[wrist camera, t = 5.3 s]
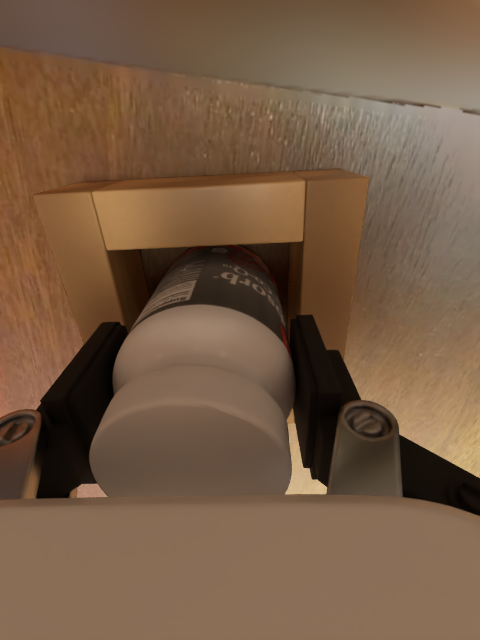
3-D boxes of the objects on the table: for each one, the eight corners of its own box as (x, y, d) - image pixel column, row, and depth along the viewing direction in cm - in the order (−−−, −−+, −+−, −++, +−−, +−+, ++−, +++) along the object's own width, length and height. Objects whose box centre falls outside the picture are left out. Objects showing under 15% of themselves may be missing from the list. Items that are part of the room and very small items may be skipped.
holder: (340, 168, 13) (370, 176, 10) (320, 376, 18) (335, 423, 15) (78, 182, 13) (30, 194, 10) (134, 382, 19) (113, 429, 16)
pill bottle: (299, 303, 16) (363, 493, 7) (215, 359, 18) (188, 564, 9) (227, 212, 14) (198, 330, 5) (139, 286, 16) (11, 464, 7)
